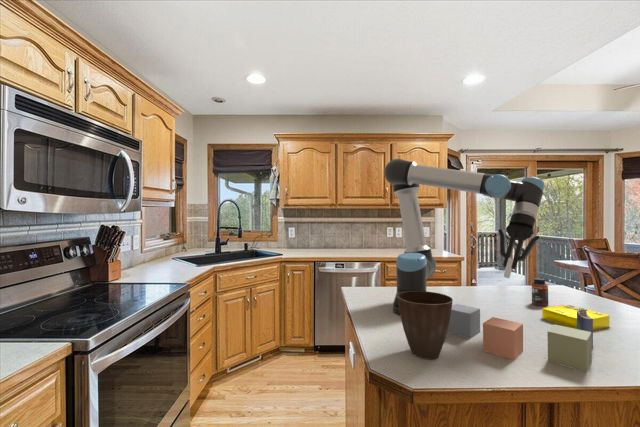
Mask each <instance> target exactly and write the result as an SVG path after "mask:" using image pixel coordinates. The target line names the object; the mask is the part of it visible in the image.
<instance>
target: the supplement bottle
mask: <svg viewBox="0 0 640 427" xmlns="http://www.w3.org/2000/svg"><path fill="white" fill-rule="evenodd" d="M531 303H532V304H533V305H534V304H535V306H538V307H548V306H549V285H548V284H546V279H545V278H541V277H539V278H538V277H536V278H535V277H534V278H533V283H532V284H531Z"/></svg>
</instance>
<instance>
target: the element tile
mask: <svg viewBox="0 0 640 427" xmlns="http://www.w3.org/2000/svg"><path fill="white" fill-rule="evenodd" d="M579 308H580V309H582V307H580V306H579V307H578V306H576V305H571V304H560V305H554V306H544V307H542V308H541V314H542V315H541V316H542V318H541V319H543V320H546V321H548V322H552V323H554V324H556V325H560V326H564V327H569V328H574V329H577V311H578V310H580V309H579ZM584 309H585V310H586V309H587V308H584ZM586 312H587V315H588V316H590V317H591V318H593V331H597V330H600V329H601V330H602V329H606V328H610V315H609V314H607V313H603V312H598V311H594V310H590V309H587V311H586Z"/></svg>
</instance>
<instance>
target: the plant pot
mask: <svg viewBox="0 0 640 427" xmlns="http://www.w3.org/2000/svg"><path fill="white" fill-rule="evenodd" d="M397 298H398V305H399V311H400V315H399V316H400V320H401V325H402V328H403V331H404V332H403V333H404V334H405V338H406V341H407V343H408V347H409V349H410V352H411V353H412V355H413V356H415V357H417V358H420V359H427V360H433V359H437V358H439V357H440V355H441V354H440V353H441V352H442V349H443V346H444V343H445V340H446V337H447V333H448V332H447V330H448V326H449V321H450V316H451V309H452V305H453V301H454V300H453V298H452V297H451V296H450V295H447V294H445V293H444V294H443V293H441V292H434V291H427V290H426V291H407V292H402V293H399V294H398V295H397Z"/></svg>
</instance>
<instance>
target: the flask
mask: <svg viewBox="0 0 640 427" xmlns="http://www.w3.org/2000/svg"><path fill="white" fill-rule="evenodd" d="M580 308H582V307H579V309H580ZM585 309H586V310H585ZM587 310H588V309H587V308H582V309H580V310H578V311H577V329H579V330H583V331H588V332H591V341H592V350H593V349H594V330H593V318H591V317H590V316H588V315H587V312H586V311H587Z"/></svg>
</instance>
